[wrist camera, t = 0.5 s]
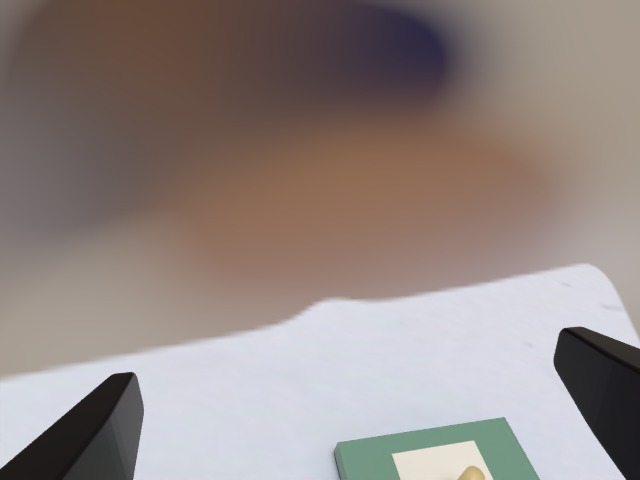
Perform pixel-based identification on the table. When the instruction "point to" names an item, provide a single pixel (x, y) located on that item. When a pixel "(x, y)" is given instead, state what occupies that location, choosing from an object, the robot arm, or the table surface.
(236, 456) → the table surface
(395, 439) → the board
